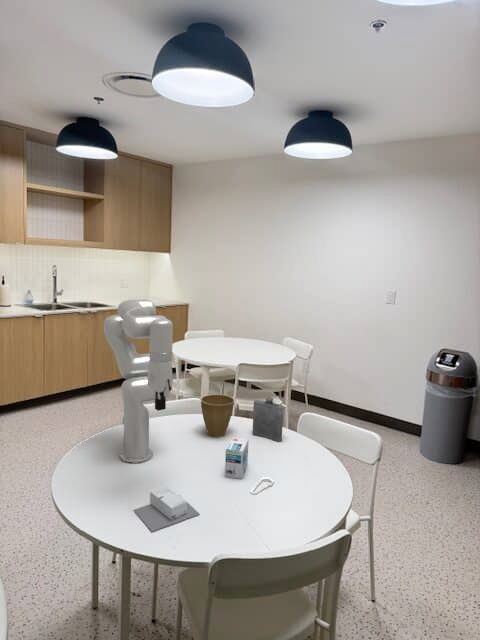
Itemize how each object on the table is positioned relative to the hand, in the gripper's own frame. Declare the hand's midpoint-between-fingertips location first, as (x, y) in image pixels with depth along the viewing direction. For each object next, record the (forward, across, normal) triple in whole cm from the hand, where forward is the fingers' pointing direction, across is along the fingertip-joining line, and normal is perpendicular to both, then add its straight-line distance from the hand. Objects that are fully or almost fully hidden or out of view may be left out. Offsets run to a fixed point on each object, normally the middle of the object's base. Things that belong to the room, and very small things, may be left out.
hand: (160, 409), depth 152 cm
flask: (+27, -11, +58) cm, 65 cm away
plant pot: (+27, -26, +41) cm, 56 cm away
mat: (+27, +17, -6) cm, 33 cm away
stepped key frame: (+28, +21, +29) cm, 46 cm away
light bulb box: (+27, +7, +28) cm, 40 cm away
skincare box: (+25, +9, -6) cm, 27 cm away
